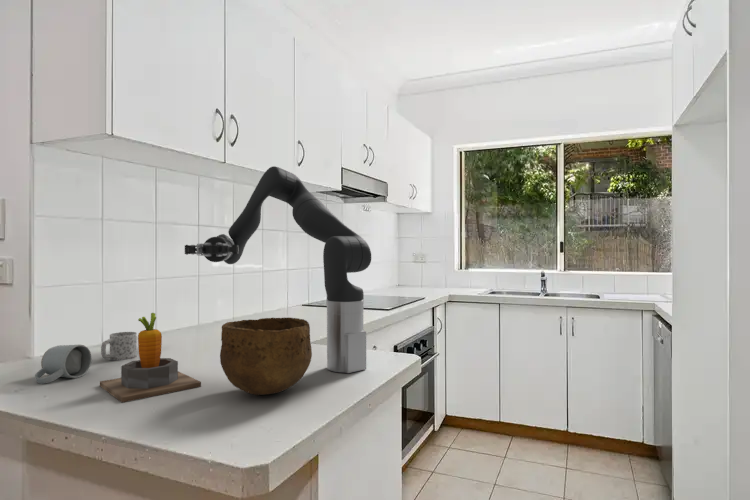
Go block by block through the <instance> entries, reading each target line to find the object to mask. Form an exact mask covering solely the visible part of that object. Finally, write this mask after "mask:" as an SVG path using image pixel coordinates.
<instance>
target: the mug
mask: <svg viewBox="0 0 750 500" xmlns="http://www.w3.org/2000/svg"><path fill="white" fill-rule="evenodd" d="M108 344H109V354H107V352H106V351H107V350H106V349H107V345H108ZM137 347H138V334H137V332H135V331H120V332H115V333H110V334H109V338H108V339H106V340H104V341H102V343H101V347H100V354H101V358H102V359H105V360H108V359H109V360H110V361H126V360H132V359H135V358H137V355H138V353H137V352H138V351H137V349H138V348H137Z"/></svg>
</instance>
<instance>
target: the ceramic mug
mask: <svg viewBox="0 0 750 500" xmlns="http://www.w3.org/2000/svg"><path fill="white" fill-rule="evenodd" d="M92 358H93V357H92V353H91V350H90V349H89V348H88V346H86V345H84V344H66V345H65V344H62V345H56V346H53V347H50V348H48V349H47V350H46V351H45V352H44V353H43V355H42V357H41V361H40V364H41V365H40V366H41V369H39V370H38V371H36V372H35V374H34V378H35V381H36V382H37V383H38V384H42V385H43V384H48V383H51V382H54V381H56V380H57V379H59V378H67V379H68V378H69V379H80V378H82V377H83V376H84V375H86V373H87V372H89V369H90V367H91V364H92ZM45 374H46V375H47V376H44V375H45ZM43 376H44V377H43Z"/></svg>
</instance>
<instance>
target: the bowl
mask: <svg viewBox="0 0 750 500" xmlns="http://www.w3.org/2000/svg"><path fill="white" fill-rule="evenodd" d="M310 333H311V326H310V323H309V322H308V320H306V319H304V318H297V317H264V318H263V317H262V318H259V319H241V320H235V321H227V322H226V323H223V324H222V326H221V333H220V335H221V337H220V338H221V340H220V341H221V346H220V354H219V358H220V359H219V363H220V365H221V368H222V371H223V373H224V375H225V376H226V378H227V380H228V381H229V382H230V383H231V384H232V386H233V387H236V388H237V389H239V390H241V391H243V392H245V393H247V394H249V395H255V396H265V395H272V394H278V393H281V392H283V391H285V390H287V389H290V388H291V387H292V386H294V385H295V384H297V383H298V382H299V381H300V380H301V379H302V378H303V377H304V375H305V374H306V372H307V370H308V368H309V366H310V364H311V361H312V356H313V352H312V351H313V350H312V344H311V334H310Z"/></svg>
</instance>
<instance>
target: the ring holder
mask: <svg viewBox="0 0 750 500" xmlns="http://www.w3.org/2000/svg"><path fill="white" fill-rule="evenodd" d="M178 365H179V361H178V360H175V359H174V358H171V357H166V358H165V357H160V362H159V366H158V367H152V368H142V367H141V362H140V359H138V360H137V359H136V360H131V361H129V362H127V363H125V364H122V365H121V367H120V370H121V371H120V372H121V373H120V374H121V375H120V376H121V377H118V378H111V379H106V380H100V381H99V387H101V389H102V390H105V391H106V392H107V393H109V394H110V395H111V396H113V397H114V398H115V399H116V400H118V401H119V402H121V403H127V402H132V401H136V400H142V399H146V398H152V397H156V396H160V395H166V394H169V393H175V392H180V391H186V390H190V389H195V388H199V387H202V381H200V380H197V379H196V378H194V377H191V376H189V375H187V374H185V373H183V372H181V371H179V368H178V367H179V366H178Z"/></svg>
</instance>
